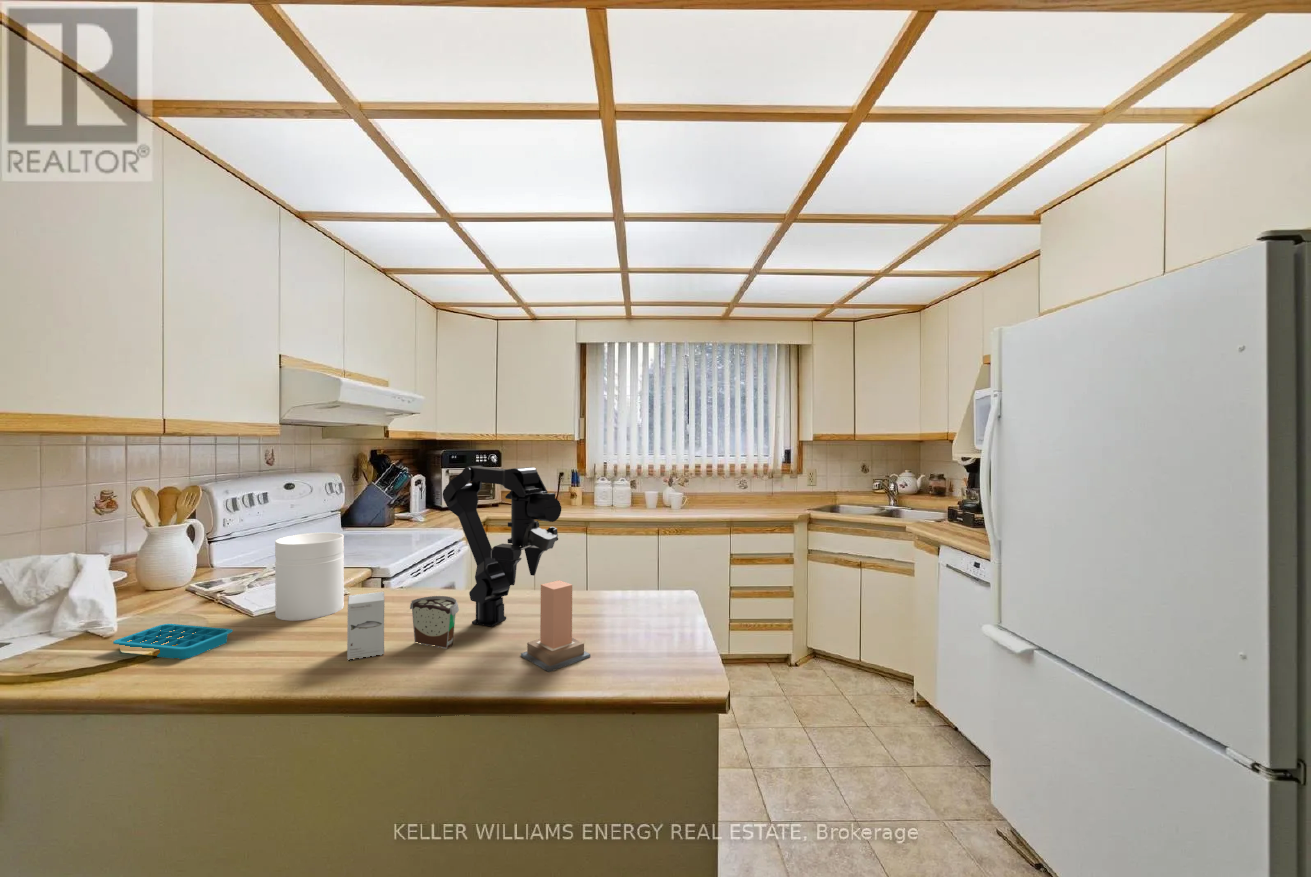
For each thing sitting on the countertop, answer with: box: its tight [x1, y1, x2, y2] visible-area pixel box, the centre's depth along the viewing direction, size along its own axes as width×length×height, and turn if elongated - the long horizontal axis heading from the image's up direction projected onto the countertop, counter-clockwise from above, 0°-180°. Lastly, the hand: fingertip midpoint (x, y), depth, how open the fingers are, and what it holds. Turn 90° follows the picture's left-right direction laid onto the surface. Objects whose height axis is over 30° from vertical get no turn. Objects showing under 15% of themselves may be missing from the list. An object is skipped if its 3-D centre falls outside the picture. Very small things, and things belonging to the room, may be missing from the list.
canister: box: [274, 532, 345, 622], centre depth 150 cm, size 16×16×20 cm
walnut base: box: [520, 637, 591, 673], centre depth 122 cm, size 11×11×3 cm
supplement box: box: [346, 591, 385, 661], centre depth 122 cm, size 7×7×13 cm
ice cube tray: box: [112, 623, 234, 660], centre depth 124 cm, size 12×20×3 cm, turn 80°
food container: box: [409, 595, 460, 650], centre depth 129 cm, size 12×6×10 cm, turn 71°
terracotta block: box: [539, 579, 573, 649], centre depth 121 cm, size 5×5×13 cm
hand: (522, 580), depth 136 cm, fingers open, 9 cm apart
